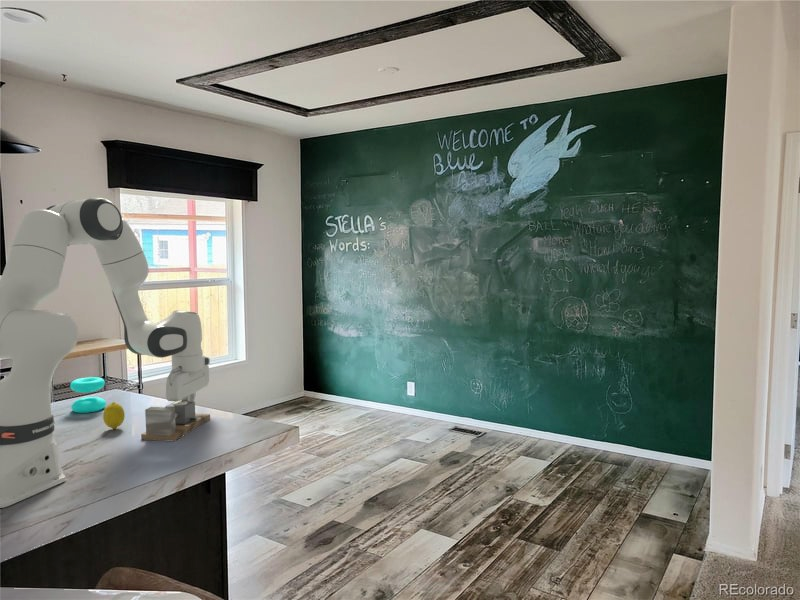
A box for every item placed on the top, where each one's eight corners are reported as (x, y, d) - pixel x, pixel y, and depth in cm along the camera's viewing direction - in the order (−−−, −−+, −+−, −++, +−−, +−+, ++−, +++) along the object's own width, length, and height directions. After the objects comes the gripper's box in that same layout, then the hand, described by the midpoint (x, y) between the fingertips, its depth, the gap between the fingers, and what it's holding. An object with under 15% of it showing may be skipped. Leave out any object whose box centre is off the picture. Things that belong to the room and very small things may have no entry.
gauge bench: (175, 441, 159) (174, 410, 158) (141, 439, 160) (140, 409, 160) (210, 418, 180) (209, 391, 179) (179, 417, 181) (178, 390, 180)
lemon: (128, 426, 172) (127, 400, 171) (118, 432, 167) (116, 405, 166) (111, 426, 173) (110, 399, 172) (99, 431, 167) (98, 404, 166)
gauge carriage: (186, 427, 166) (186, 408, 165) (161, 426, 167) (160, 407, 166) (201, 418, 174) (200, 400, 174) (176, 417, 175) (176, 399, 175)
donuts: (73, 384, 182) (67, 379, 190) (75, 415, 183) (68, 409, 191) (108, 380, 189) (100, 374, 196) (109, 410, 189) (102, 403, 197)
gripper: (179, 371, 165) (181, 418, 166) (212, 357, 185) (213, 400, 186) (159, 370, 166) (160, 417, 167) (193, 356, 186) (195, 399, 187)
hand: (189, 408), depth 177 cm, fingers closed
